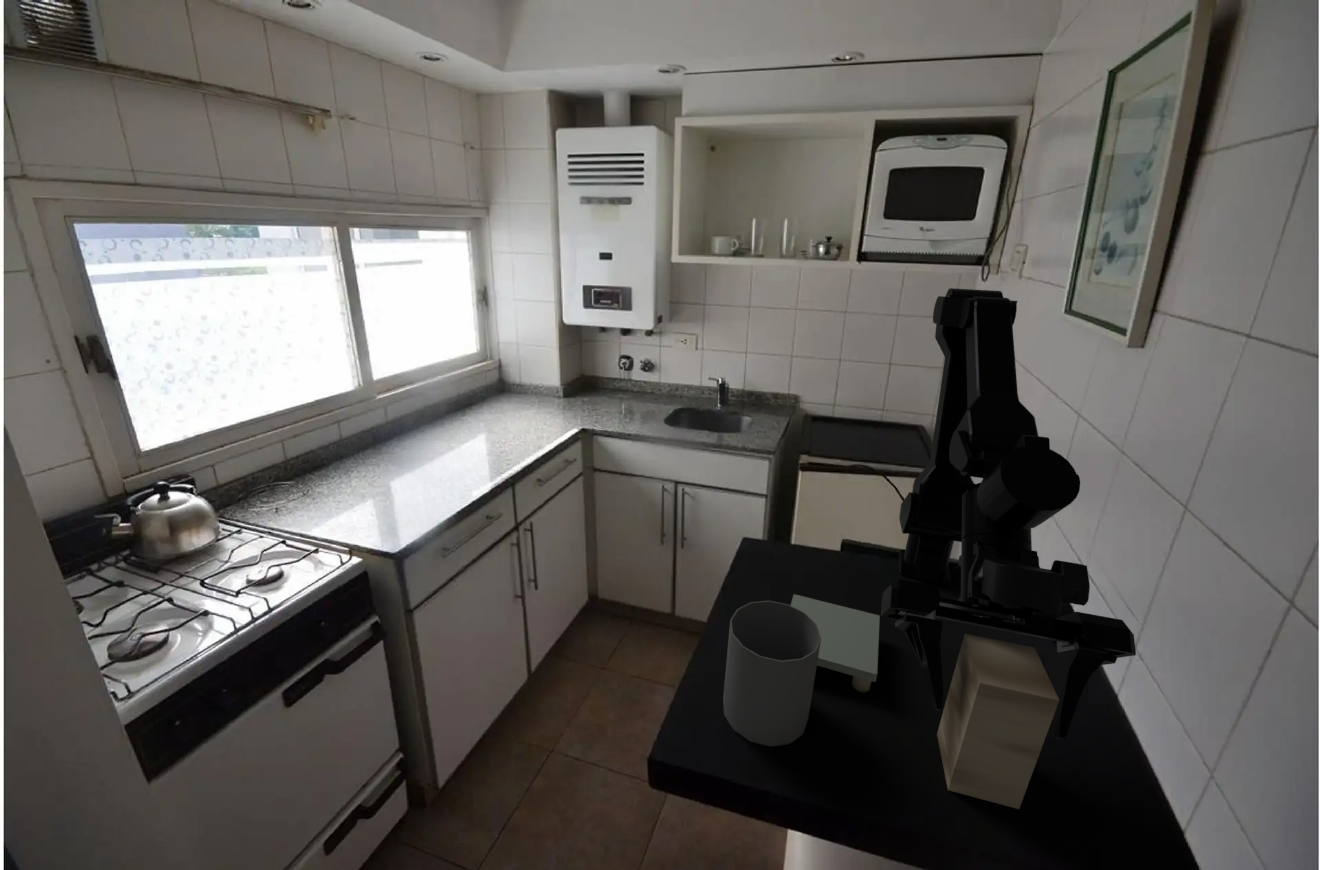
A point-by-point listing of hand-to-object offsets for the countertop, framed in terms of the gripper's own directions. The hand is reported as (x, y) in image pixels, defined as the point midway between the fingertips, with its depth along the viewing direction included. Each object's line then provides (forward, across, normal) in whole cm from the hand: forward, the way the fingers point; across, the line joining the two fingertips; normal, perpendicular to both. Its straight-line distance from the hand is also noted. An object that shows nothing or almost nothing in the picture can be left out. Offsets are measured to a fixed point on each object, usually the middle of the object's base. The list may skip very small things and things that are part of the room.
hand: (997, 723), depth 47 cm
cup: (+4, -19, +6) cm, 20 cm away
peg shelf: (-4, -13, +14) cm, 19 cm away
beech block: (+4, 0, +6) cm, 7 cm away
